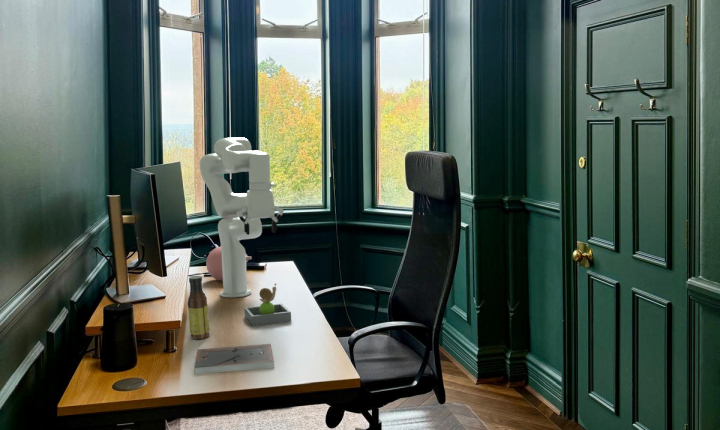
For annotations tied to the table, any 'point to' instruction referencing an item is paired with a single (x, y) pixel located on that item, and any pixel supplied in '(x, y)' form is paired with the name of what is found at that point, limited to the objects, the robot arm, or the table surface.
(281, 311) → the bin
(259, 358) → the picture frame
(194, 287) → the sauce bottle
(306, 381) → the table surface
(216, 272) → the balloon
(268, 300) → the snail figurine
